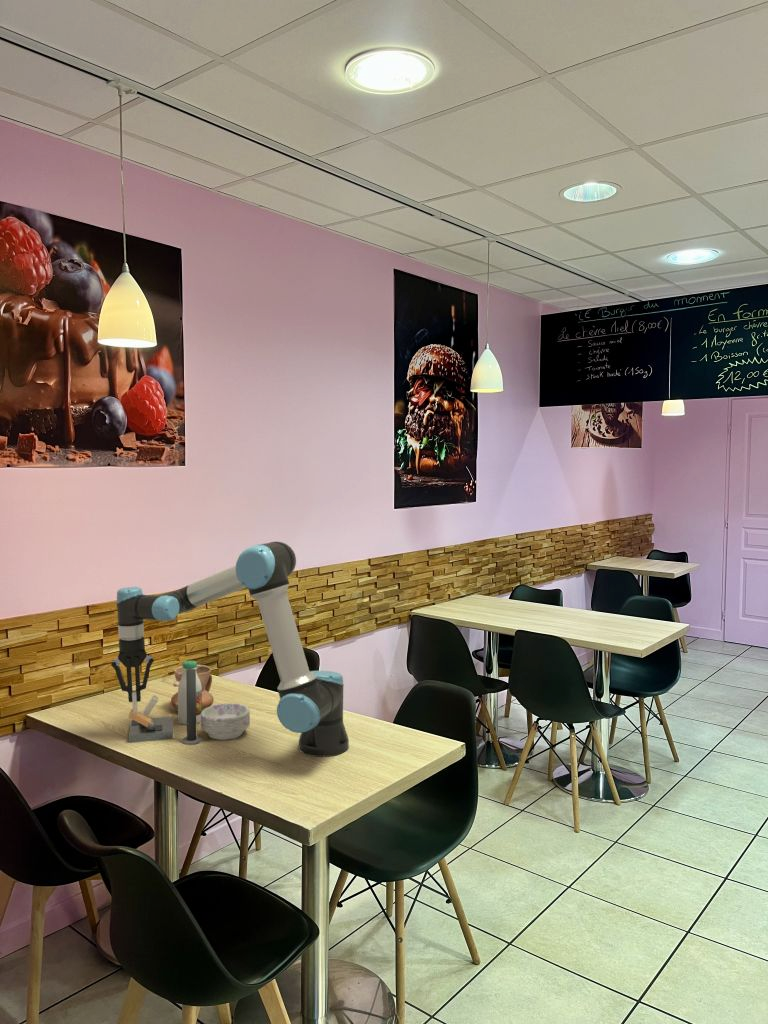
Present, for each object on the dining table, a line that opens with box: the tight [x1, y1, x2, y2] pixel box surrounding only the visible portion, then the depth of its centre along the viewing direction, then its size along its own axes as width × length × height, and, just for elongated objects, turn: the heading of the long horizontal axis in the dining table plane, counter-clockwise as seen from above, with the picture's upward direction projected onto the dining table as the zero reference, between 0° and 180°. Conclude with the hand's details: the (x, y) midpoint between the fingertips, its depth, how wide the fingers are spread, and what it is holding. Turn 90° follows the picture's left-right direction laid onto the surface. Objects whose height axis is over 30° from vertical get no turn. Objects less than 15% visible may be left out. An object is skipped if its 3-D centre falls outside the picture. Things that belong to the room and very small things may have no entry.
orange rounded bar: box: [128, 708, 155, 730], centre depth 237 cm, size 5×2×8 cm
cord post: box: [181, 669, 203, 746], centre depth 233 cm, size 6×6×22 cm
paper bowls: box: [200, 702, 251, 741], centre depth 239 cm, size 15×15×8 cm
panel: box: [128, 716, 174, 743], centre depth 241 cm, size 14×13×3 cm
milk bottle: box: [177, 660, 203, 726], centre depth 251 cm, size 8×8×20 cm
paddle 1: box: [140, 694, 159, 717], centre depth 244 cm, size 5×2×8 cm
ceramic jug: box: [170, 664, 215, 711], centre depth 265 cm, size 18×14×14 cm
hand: (135, 711), depth 236 cm, fingers closed
